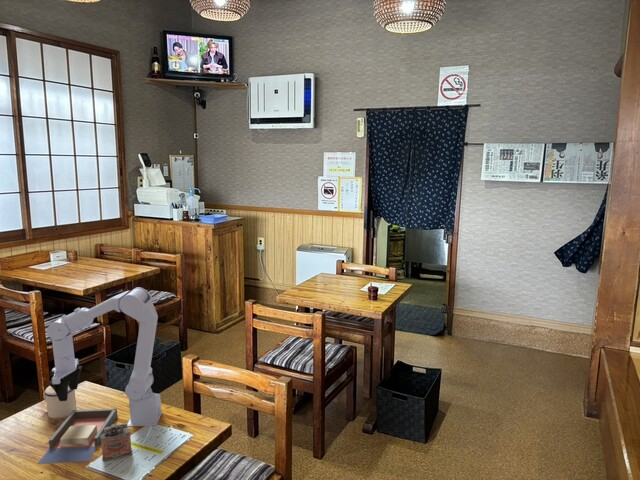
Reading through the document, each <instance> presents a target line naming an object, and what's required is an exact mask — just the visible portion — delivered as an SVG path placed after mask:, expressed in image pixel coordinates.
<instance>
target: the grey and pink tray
mask: <svg viewBox="0 0 640 480" xmlns="http://www.w3.org/2000/svg"><path fill="white" fill-rule="evenodd" d="M66 417H67V418H66V419H64V421H63V422H62V423H61V425H60V426H59V427H58V428H57V430H56V431H55V432H54V433H53V435H52V436H51V437H50V438H49V439H48V445H49V446H48V447H49V448H48V449H54V448H74V447H94V446H98V447H99V445H100V444H101V440H100V436H101V435H102V434H104V433H105V432H104V428H105V427H110V426H111V425H112V424H114V422H115V420H116V418H117V417H118V408H99V409H94V408H93V409H92V408H91V409H76V410H73V411H72V413H71V414H70V415H69V416H66ZM84 425H97V433H96V435H95V436H94V438H93V439H92V441H91V442H90V444H89V445H87V446H67V447H61V444H60V439H61V437H62V436H63V435H64V433H65V432H66V431H67V430H68V428H69V427H70V426H84Z"/></svg>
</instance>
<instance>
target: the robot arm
mask: <svg viewBox="0 0 640 480" xmlns="http://www.w3.org/2000/svg"><path fill="white" fill-rule="evenodd" d="M113 310H114V311H115V312H118V313H121V312H122V313H123V314H125V315H127V316H129V317H131V318H132V319H134V320H136V321H137V322H138V323H139V328H138V336H137V342H136V347H135V348H136V349H135V357H134V362H133V370H132V372H131V375H130V377H129V382H128V383H127V385H126V387H125V389H124V390H125V391H124V393H125V396H126V398H127V399H128V404H129V406H128V407H129V416H130V418H129V420H128V422H127V426H128V427H148V426H151V427H153V426H157V425H158V423H159V421H160V419H161V416H162V414H163V411H162V401H161V400H162V399H161V398H162V397H161V394H160V393H155V392H153V389H152V387H151V386H152V385H153V384H154V375H153V368H152V367H151V365H152V358H153V353H154V345H155V339H156V332H157V325H158V319H159V317H158V312H157V310H156V308H155V306H154V302H153V297H152V295H151V293H150V292H148V291H147V290H146V289H145V288H144V287H140V286H139V287H135V288H133V289H132V290H127V291H123V292H121V293H119V294H117V295H115V296H112V297H110V298H108V299H107V300H105V301H102V302H100V303H99V304H97V305H94V306H93V307H91V308H88V307H77V308H75V309H73V312H71V313H69V314H67V315H66V314H63V315H62V316H61V317H59V318H57V319H56V320H55V321H53V322H52V323H50V325H48V327H47V329H46V332H47V336H48V337H49V338H50V339H51V342H52V351H53V353H52V354H53V359H54V367H53V368H52V369H51V372H52V373H54V374H53V376H52V377H51V380H50V381H49V386H51V387H52V388H53V389H54V391H55V392H56V394H57V396H58V399H59V401H67V398H68V386H69V388H70V390H72V389H75V390H77V389H78V387H79V379H80V376H81V373H82V369H83V366H82V365H79V364H80V363H79V358H75V351H74V339H73V333H75V332H76V331H79V330H81V329H83V328H85V327H87V326H90V325H91V324H93V322H94V319H95V318H97V317H100V316H103V315H104V314H107V313H109V312H111V311H113ZM64 378H66V379H64Z"/></svg>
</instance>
